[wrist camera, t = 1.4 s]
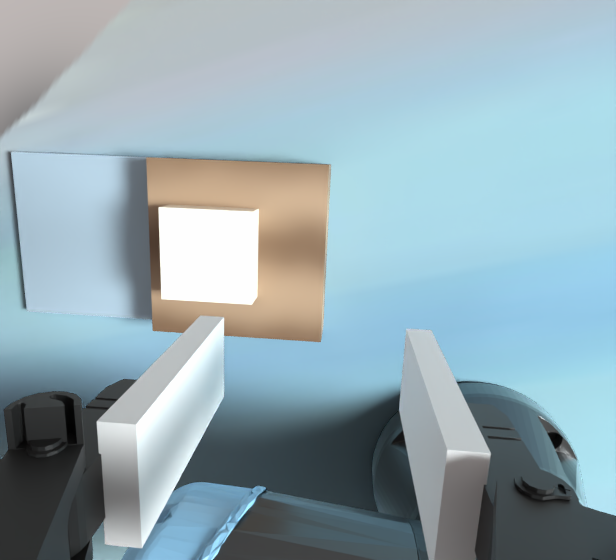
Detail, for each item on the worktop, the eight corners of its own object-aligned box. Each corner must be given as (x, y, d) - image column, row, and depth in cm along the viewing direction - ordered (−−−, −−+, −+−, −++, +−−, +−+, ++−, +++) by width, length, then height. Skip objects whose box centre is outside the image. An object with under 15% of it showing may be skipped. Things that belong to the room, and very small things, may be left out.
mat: (167, 317, 38) (164, 320, 37) (31, 309, 39) (26, 311, 38) (163, 157, 35) (159, 157, 35) (16, 151, 36) (10, 151, 35)
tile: (257, 296, 34) (251, 304, 32) (172, 291, 34) (161, 299, 32) (258, 208, 32) (252, 211, 30) (169, 204, 33) (158, 207, 31)
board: (323, 327, 37) (320, 341, 34) (167, 317, 38) (152, 330, 35) (331, 164, 34) (329, 164, 31) (163, 157, 35) (146, 157, 32)
